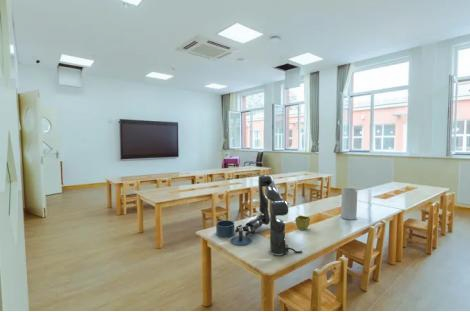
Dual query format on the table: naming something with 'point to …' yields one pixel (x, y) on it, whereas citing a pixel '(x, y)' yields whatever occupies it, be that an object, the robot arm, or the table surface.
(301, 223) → the flower pot
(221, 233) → the pot
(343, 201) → the cylinder vase
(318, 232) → the table surface
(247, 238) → the lid
